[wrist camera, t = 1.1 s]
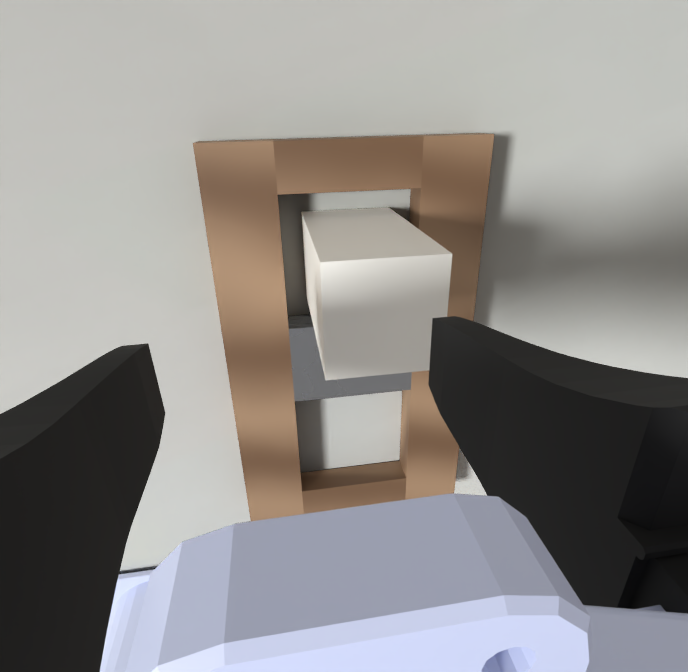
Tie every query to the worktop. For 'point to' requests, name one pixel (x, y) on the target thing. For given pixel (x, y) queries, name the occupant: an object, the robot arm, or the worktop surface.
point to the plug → (372, 290)
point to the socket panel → (297, 331)
